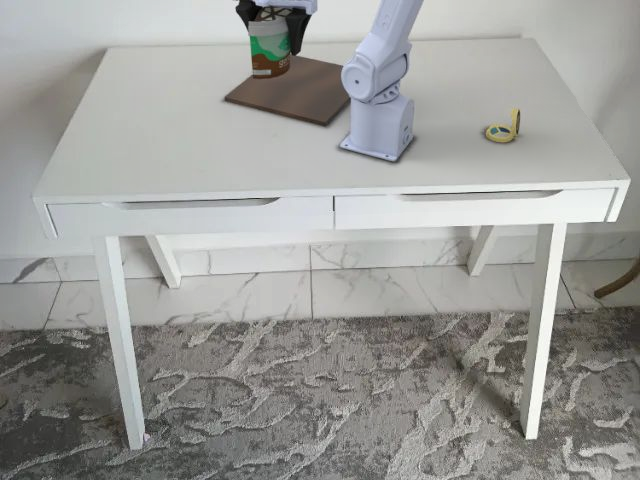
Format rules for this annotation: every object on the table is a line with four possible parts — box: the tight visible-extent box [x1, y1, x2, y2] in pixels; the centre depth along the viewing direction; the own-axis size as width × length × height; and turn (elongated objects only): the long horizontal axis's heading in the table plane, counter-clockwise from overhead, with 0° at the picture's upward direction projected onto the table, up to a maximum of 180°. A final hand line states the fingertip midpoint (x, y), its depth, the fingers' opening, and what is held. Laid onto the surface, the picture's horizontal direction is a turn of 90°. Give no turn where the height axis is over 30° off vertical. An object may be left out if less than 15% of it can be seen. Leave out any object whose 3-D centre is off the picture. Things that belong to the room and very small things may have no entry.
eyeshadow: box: [485, 107, 521, 143], centre depth 105 cm, size 4×5×5 cm
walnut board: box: [224, 55, 351, 127], centre depth 119 cm, size 20×20×1 cm
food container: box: [247, 5, 292, 79], centre depth 107 cm, size 12×6×10 cm, turn 169°
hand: (276, 49), depth 108 cm, fingers closed on food container, 7 cm apart
